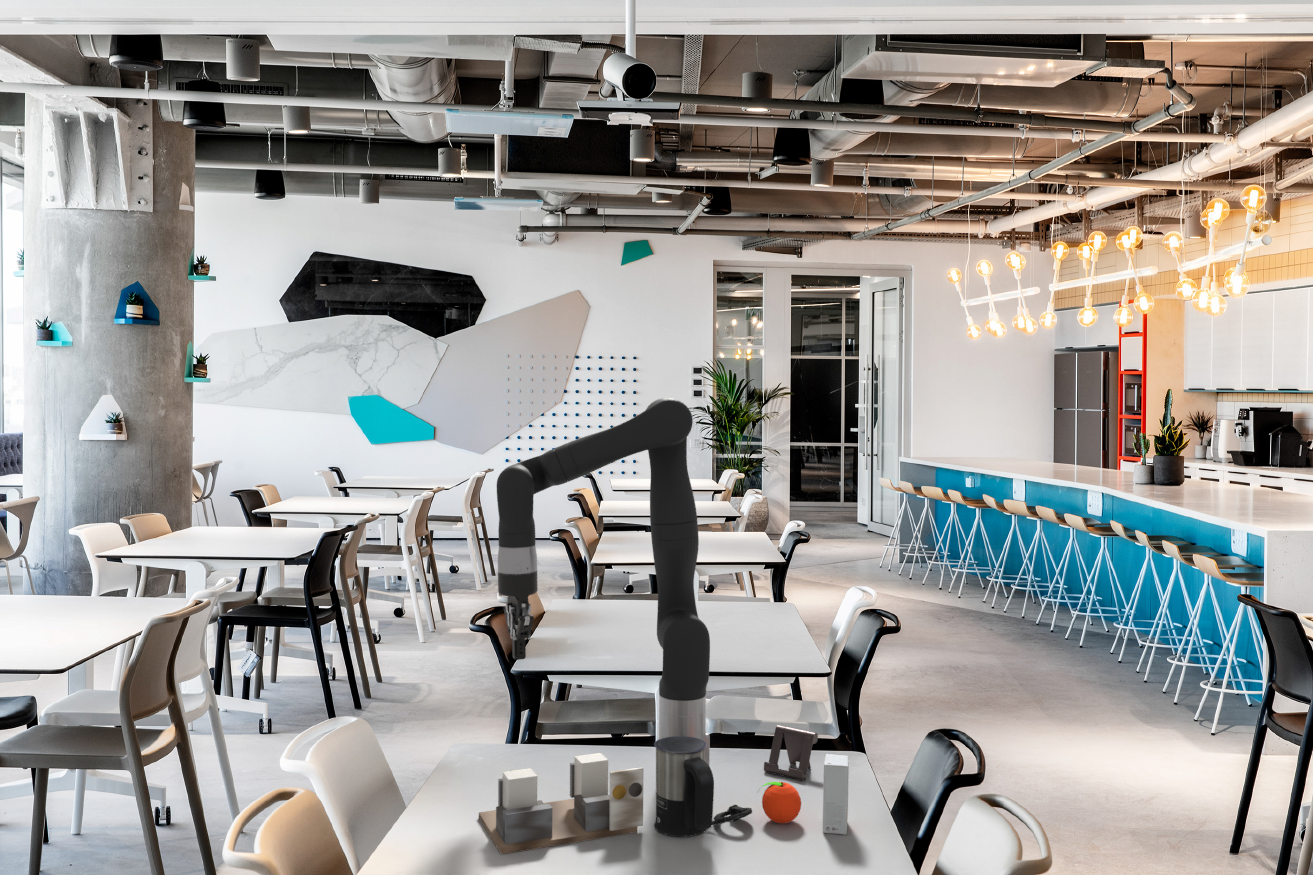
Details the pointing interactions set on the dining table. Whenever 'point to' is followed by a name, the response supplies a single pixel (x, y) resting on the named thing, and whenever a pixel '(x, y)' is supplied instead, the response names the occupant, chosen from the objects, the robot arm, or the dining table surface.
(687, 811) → the milk frother
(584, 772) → the button
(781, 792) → the clementine
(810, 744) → the portable electronic device stand
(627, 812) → the button board
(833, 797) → the skincare box
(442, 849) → the dining table surface
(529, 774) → the button
